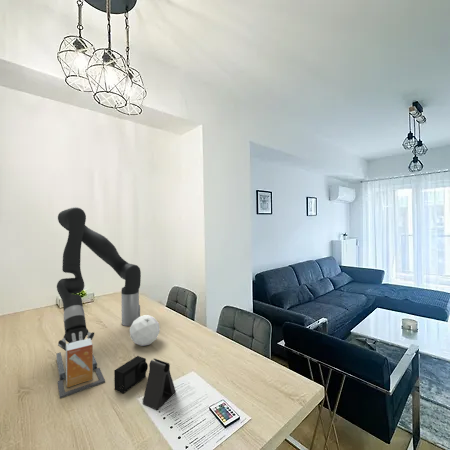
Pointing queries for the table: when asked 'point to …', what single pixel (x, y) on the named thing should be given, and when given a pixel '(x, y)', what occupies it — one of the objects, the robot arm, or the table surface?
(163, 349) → the table surface
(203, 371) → the table surface
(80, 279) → the robot arm
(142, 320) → the geodesic sphere
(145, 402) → the phone stand
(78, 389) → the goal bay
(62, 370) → the grey u-shaped frame
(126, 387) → the digital camera
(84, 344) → the small box
